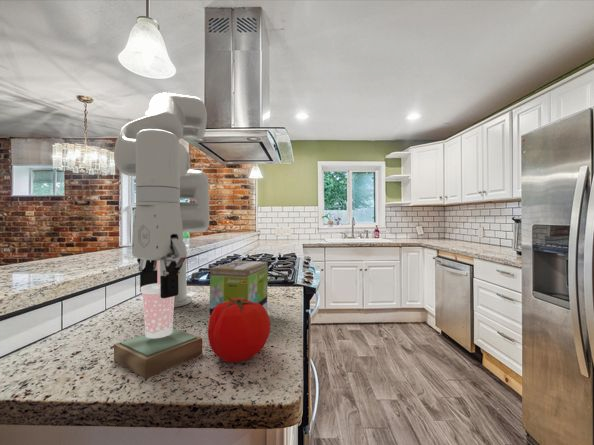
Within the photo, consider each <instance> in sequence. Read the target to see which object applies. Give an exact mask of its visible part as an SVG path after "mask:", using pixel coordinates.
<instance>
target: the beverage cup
mask: <svg viewBox="0 0 594 445" xmlns="http://www.w3.org/2000/svg"><path fill="white" fill-rule="evenodd" d="M140 293H141V296H142V306H143V308H142V309H143V321H144V334H145V336H146V337H147V338H153V339H154V338H162V337H165V336H168V335H170V334H172V331H173V328H174V312H175V311H174V310H175V307H174V297H175V296H173V297H168V298H161V291H160V260H158V261H157V283H155V284H149V285H145V286H142V287H141V292H140Z"/></svg>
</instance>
